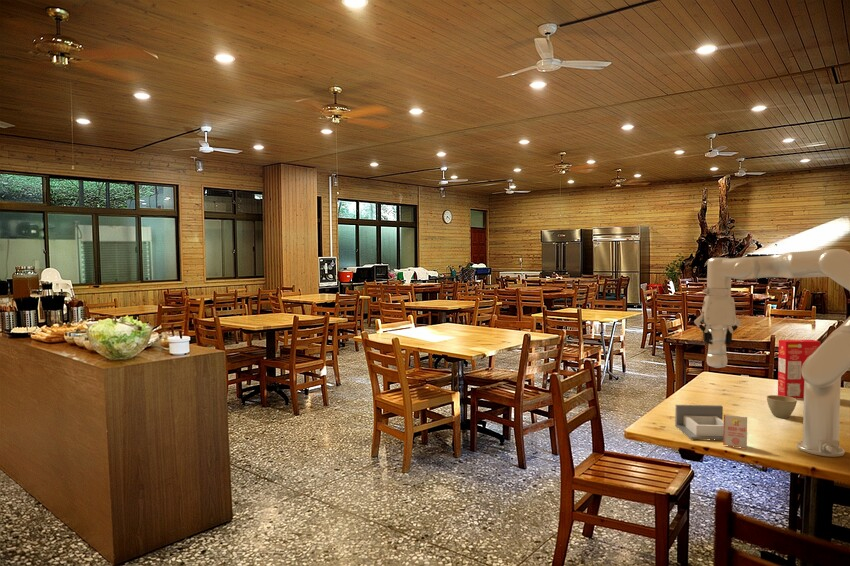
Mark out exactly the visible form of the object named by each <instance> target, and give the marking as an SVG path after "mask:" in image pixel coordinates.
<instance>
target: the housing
mask: <svg viewBox="0 0 850 566" xmlns="http://www.w3.org/2000/svg"><path fill="white" fill-rule="evenodd" d="M723 411H724V410H723V406H722V405H719V404H713V405H711V404H708V405H707V404H675V415H674V416H675V420H674V424H675V425H674V427H676V428H677V429H678V428H679V429H680V430H681V431H682V432H681V431H680V430H679V429H678V430H679V431H680V432H681V433H682V434H684V433H685V434H686V435H687V436H688V437H689V438H688V439H690V440H691V439H710V440H709V441H713V440H714V439H715V440H723V431H724V415H723V414H724V412H723ZM685 434H684V435H685ZM686 435H685V436H686ZM687 436H686V437H687Z"/></svg>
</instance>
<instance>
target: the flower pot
mask: <svg viewBox="0 0 850 566" xmlns="http://www.w3.org/2000/svg"><path fill="white" fill-rule="evenodd" d="M766 401H767V405H768V408H769V410H770V412H771V414H772V416H773V417H775V416H776V417H775V418H780V419H788V418H789V417H790V416H792V414H793V412H794V410H795V408H796V406H797V402H798V399H795V398H792V397H787V396H779V395H778V394H777V395H776V394H771V395H767V396H766Z"/></svg>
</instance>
